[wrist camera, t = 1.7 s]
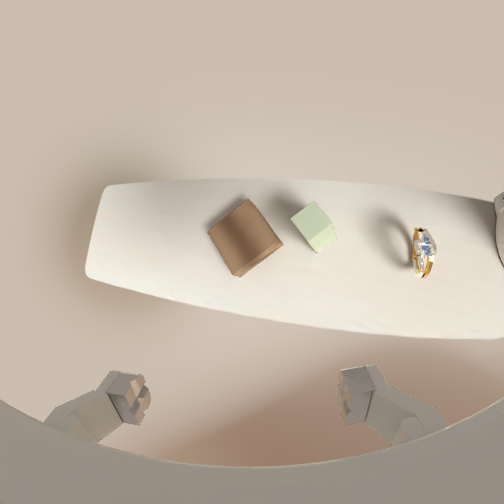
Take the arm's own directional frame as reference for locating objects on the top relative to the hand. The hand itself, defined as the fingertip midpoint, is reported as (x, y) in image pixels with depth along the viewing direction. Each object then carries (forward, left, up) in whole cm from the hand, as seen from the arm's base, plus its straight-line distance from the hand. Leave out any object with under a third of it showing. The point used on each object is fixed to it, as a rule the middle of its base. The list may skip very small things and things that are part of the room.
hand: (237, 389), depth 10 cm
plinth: (+3, -20, -32) cm, 37 cm away
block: (-7, -13, -32) cm, 35 cm away
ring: (-17, -1, -32) cm, 36 cm away
